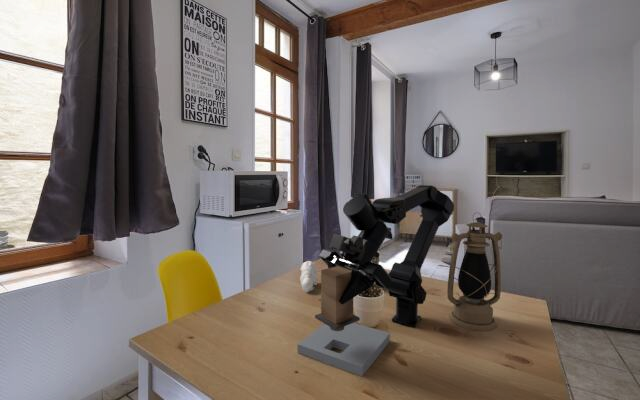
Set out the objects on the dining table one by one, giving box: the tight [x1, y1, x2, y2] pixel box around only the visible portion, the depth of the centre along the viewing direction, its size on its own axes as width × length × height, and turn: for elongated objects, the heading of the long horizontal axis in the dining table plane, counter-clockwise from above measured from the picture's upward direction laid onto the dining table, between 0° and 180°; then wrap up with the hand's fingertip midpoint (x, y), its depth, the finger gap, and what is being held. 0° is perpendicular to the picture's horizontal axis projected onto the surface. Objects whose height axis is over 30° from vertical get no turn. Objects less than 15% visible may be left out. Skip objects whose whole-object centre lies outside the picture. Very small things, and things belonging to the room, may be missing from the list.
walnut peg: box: [314, 266, 361, 331], centre depth 71 cm, size 7×7×13 cm
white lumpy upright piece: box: [299, 260, 319, 293], centre depth 113 cm, size 6×8×12 cm
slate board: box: [296, 322, 391, 377], centre depth 75 cm, size 16×16×2 cm
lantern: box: [446, 212, 503, 332], centre depth 87 cm, size 14×12×30 cm
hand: (332, 299), depth 70 cm, fingers closed on walnut peg, 5 cm apart
